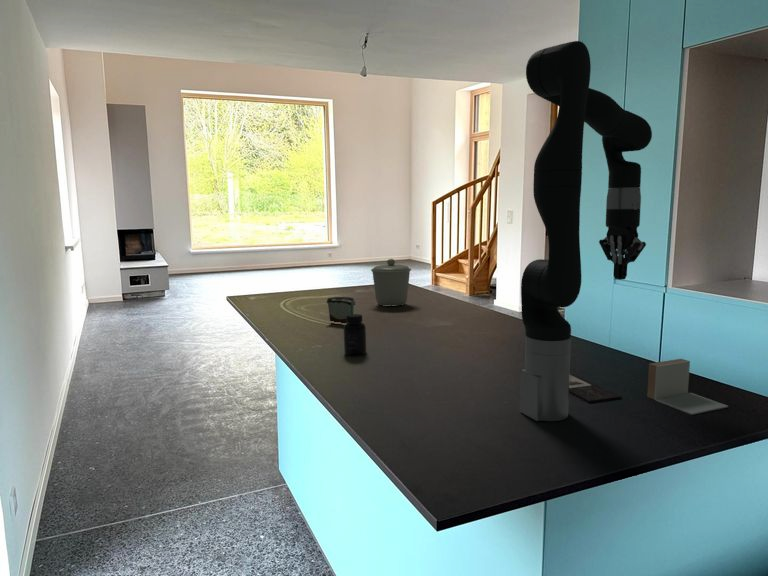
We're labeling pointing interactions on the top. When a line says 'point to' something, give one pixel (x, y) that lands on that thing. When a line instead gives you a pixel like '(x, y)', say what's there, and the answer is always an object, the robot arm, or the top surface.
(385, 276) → the canister
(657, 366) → the tile
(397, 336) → the top surface
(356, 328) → the supplement bottle
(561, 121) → the robot arm
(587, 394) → the chocolate bar
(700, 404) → the mat
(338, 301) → the food container
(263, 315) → the top surface
